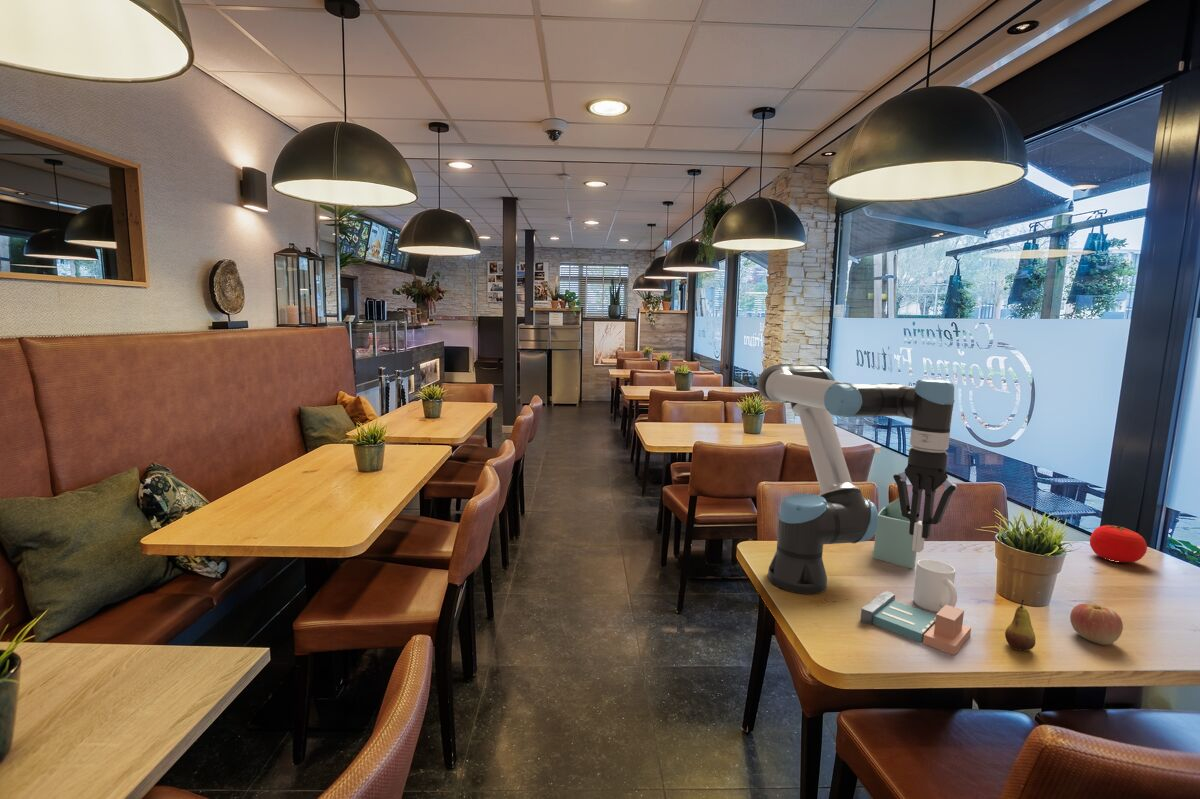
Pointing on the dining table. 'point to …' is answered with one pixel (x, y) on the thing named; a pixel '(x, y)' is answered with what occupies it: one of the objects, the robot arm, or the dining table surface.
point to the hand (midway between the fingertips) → (917, 549)
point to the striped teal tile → (904, 620)
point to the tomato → (1118, 543)
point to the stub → (948, 630)
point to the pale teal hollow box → (894, 537)
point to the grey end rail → (876, 606)
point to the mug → (934, 585)
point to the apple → (1096, 623)
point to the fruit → (1020, 630)
